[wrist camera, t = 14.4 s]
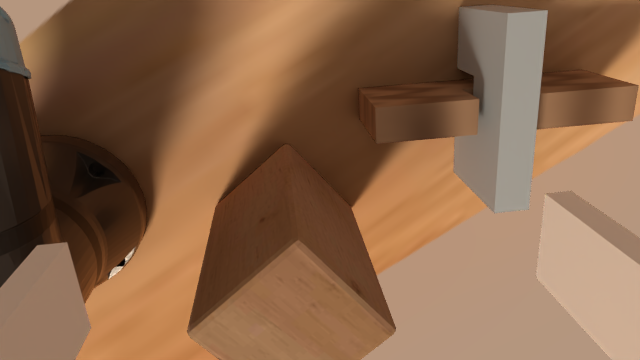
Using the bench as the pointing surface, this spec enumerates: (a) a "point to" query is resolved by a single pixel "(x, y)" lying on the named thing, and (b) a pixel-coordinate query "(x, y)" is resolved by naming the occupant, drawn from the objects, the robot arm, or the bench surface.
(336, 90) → the bench surface
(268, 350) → the wooden block
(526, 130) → the notched plate
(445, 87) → the slotted beam
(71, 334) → the robot arm
